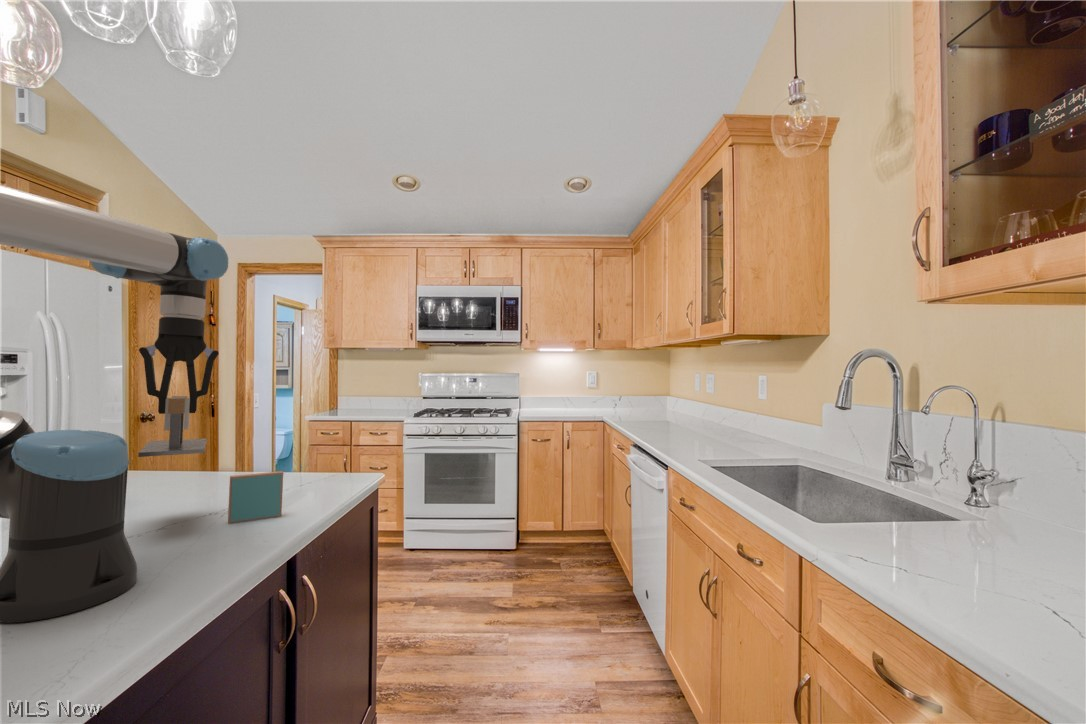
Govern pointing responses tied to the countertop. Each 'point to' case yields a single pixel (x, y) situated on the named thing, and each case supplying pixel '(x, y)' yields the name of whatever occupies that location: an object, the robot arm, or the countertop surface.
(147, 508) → the countertop surface
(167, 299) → the robot arm
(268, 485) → the tile
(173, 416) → the trowel
